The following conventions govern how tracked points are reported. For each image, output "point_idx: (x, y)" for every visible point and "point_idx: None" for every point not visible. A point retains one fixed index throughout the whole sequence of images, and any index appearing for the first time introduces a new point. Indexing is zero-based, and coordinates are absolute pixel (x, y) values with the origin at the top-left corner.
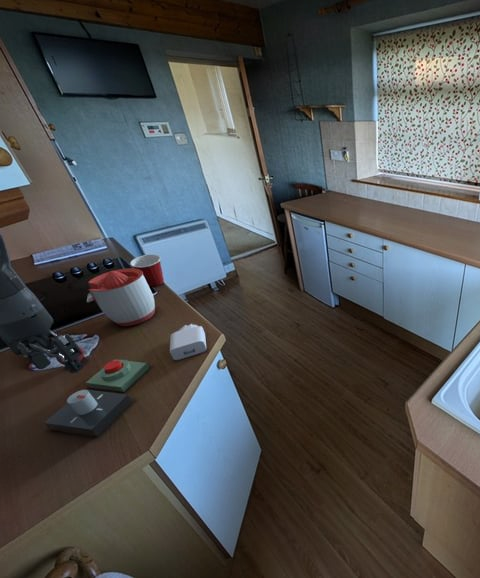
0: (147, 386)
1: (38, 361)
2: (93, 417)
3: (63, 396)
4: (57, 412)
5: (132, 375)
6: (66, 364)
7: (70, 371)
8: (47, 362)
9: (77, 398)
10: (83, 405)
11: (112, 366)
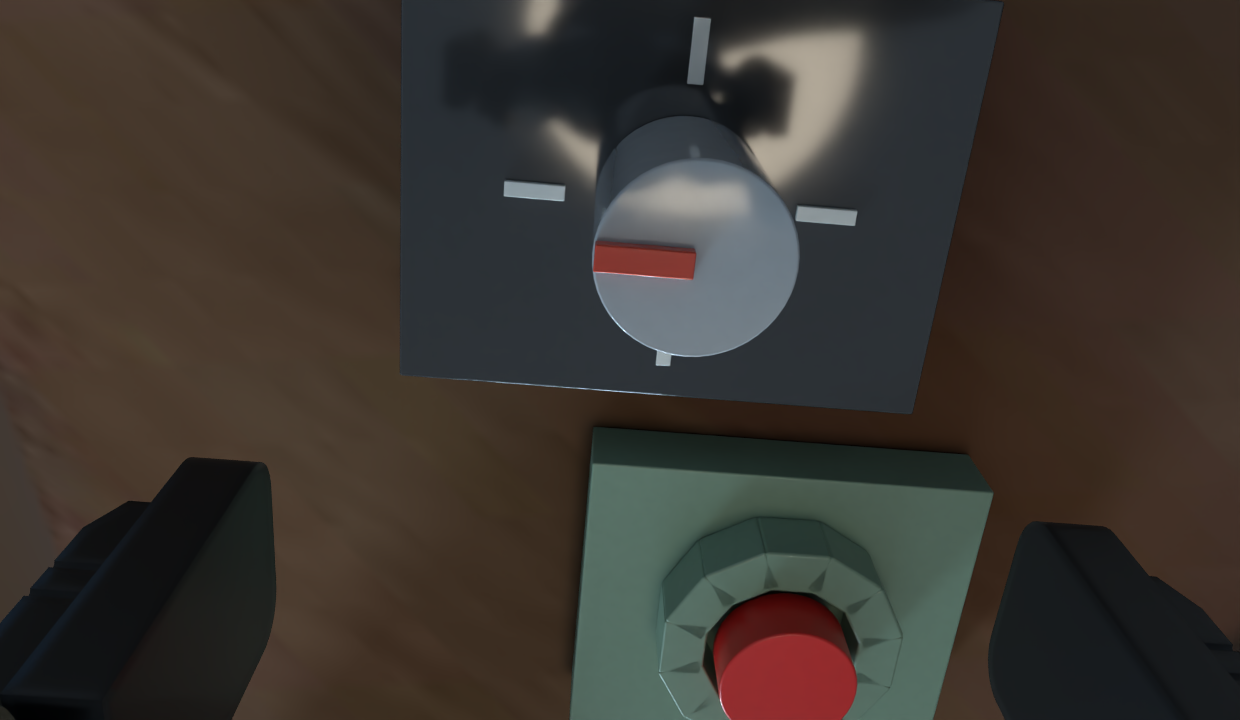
0: (424, 493)
1: (1106, 695)
2: (512, 92)
3: (1144, 355)
4: (962, 135)
5: (585, 589)
6: (45, 642)
7: (209, 486)
8: (1013, 681)
9: (671, 233)
10: (613, 179)
11: (762, 671)
